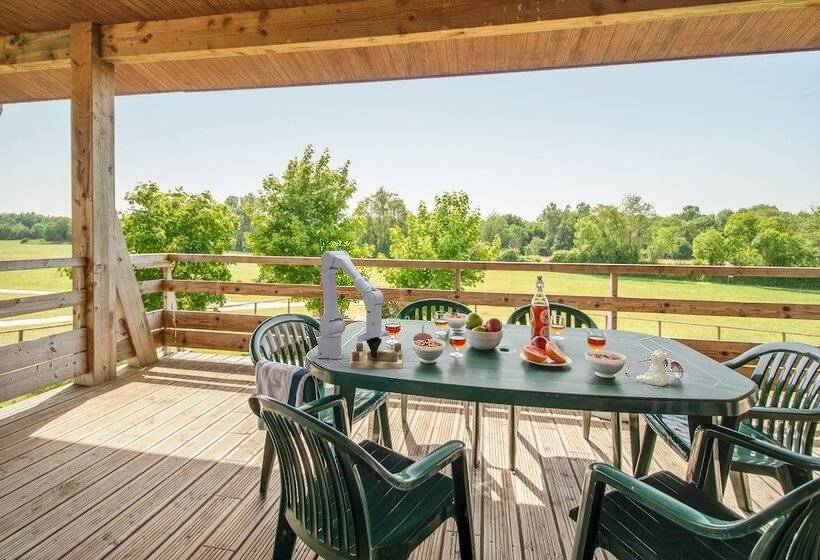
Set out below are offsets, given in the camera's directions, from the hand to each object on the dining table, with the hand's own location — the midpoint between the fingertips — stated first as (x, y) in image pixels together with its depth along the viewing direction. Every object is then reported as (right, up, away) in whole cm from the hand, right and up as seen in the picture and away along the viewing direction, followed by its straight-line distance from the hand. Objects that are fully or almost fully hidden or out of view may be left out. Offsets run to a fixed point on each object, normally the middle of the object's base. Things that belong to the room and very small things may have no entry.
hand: (373, 357), depth 165 cm
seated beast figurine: (+99, -7, -16) cm, 100 cm away
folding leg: (+3, -1, +2) cm, 4 cm away
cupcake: (+20, -2, +28) cm, 34 cm away
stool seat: (+1, -3, +8) cm, 9 cm away
